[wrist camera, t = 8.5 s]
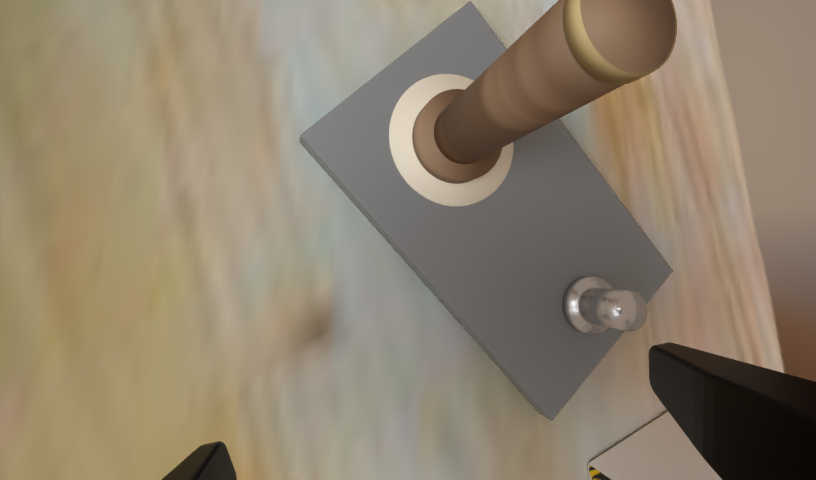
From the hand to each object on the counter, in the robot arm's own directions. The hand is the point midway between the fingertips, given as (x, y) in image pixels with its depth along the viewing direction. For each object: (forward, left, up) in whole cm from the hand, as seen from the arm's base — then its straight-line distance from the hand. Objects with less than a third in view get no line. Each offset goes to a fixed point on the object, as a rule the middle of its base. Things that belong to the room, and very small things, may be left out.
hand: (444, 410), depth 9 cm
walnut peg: (+10, +3, -12) cm, 16 cm away
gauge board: (+10, -2, -13) cm, 17 cm away
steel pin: (+10, -9, -12) cm, 18 cm away
